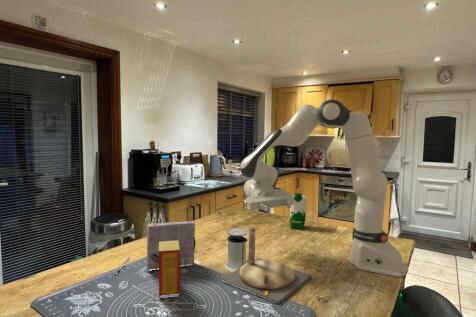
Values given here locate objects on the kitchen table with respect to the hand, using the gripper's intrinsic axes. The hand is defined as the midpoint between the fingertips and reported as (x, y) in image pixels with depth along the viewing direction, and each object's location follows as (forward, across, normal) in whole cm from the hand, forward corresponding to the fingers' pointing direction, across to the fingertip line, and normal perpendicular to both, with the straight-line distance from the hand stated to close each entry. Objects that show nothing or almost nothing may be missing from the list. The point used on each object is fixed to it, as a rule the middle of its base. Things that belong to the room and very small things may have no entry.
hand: (279, 207), depth 123 cm
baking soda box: (+7, -45, +21) cm, 50 cm away
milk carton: (-40, +34, +32) cm, 62 cm away
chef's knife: (-19, -58, +23) cm, 66 cm away
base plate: (+11, -10, +23) cm, 27 cm away
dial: (+11, -10, +21) cm, 26 cm away
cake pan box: (-11, -41, +23) cm, 49 cm away
